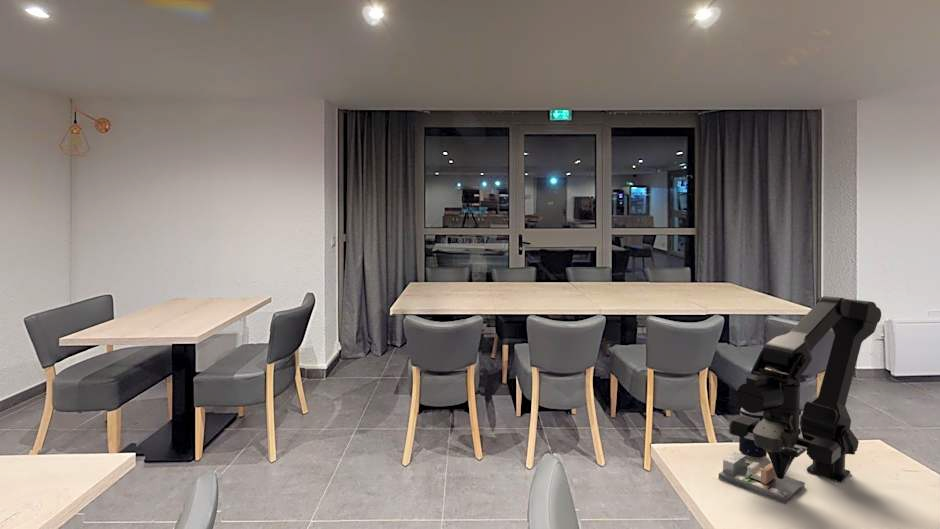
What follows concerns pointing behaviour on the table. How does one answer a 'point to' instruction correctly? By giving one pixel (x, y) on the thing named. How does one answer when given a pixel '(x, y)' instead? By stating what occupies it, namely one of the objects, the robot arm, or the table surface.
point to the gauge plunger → (761, 472)
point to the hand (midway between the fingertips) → (780, 478)
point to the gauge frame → (774, 489)
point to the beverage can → (751, 439)
